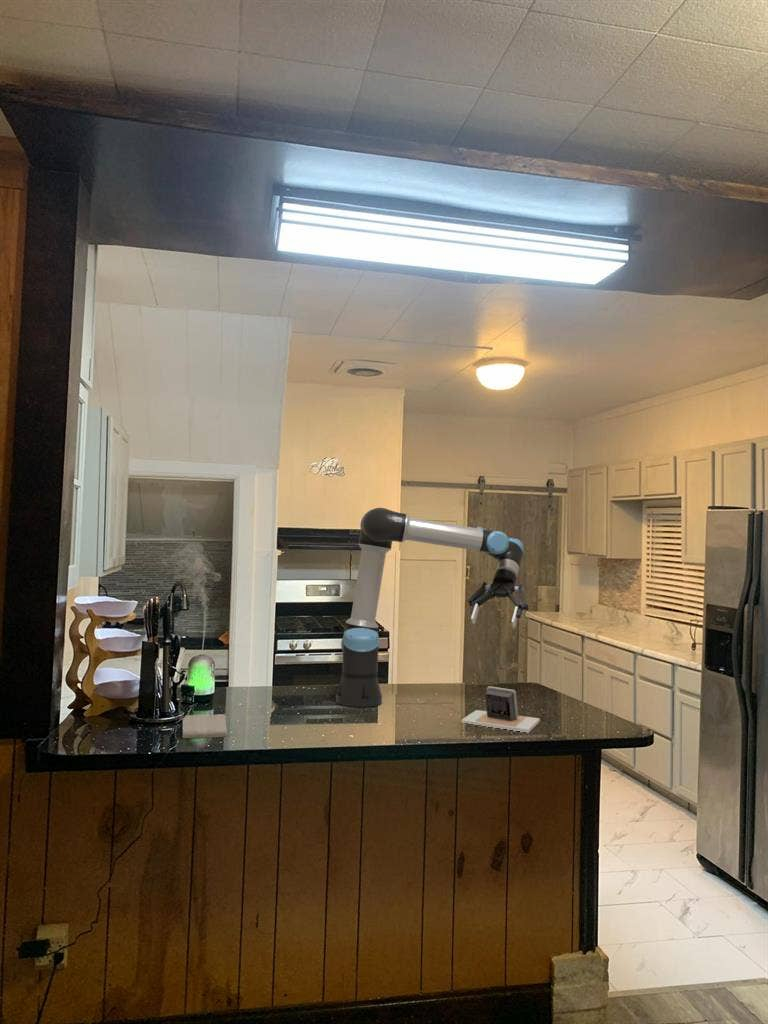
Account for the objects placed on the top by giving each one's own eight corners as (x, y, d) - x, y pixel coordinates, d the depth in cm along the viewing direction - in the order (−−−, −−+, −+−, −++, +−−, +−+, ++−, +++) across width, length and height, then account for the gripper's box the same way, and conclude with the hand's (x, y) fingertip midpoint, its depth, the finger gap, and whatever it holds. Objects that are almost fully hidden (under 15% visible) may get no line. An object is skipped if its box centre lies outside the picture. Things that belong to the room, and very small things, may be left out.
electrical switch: (518, 719, 214) (518, 688, 214) (511, 724, 210) (511, 693, 209) (490, 714, 219) (489, 684, 219) (482, 719, 215) (482, 688, 215)
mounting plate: (461, 723, 212) (461, 719, 212) (476, 713, 225) (476, 709, 225) (528, 733, 203) (528, 728, 203) (539, 721, 217) (539, 717, 217)
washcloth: (225, 722, 206) (225, 711, 206) (228, 739, 189) (228, 727, 189) (182, 723, 203) (183, 712, 203) (181, 741, 186) (182, 729, 186)
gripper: (543, 584, 245) (532, 633, 231) (473, 580, 256) (458, 627, 241) (540, 569, 241) (529, 618, 226) (469, 566, 251) (454, 612, 237)
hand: (492, 622), depth 234 cm, fingers open, 13 cm apart
